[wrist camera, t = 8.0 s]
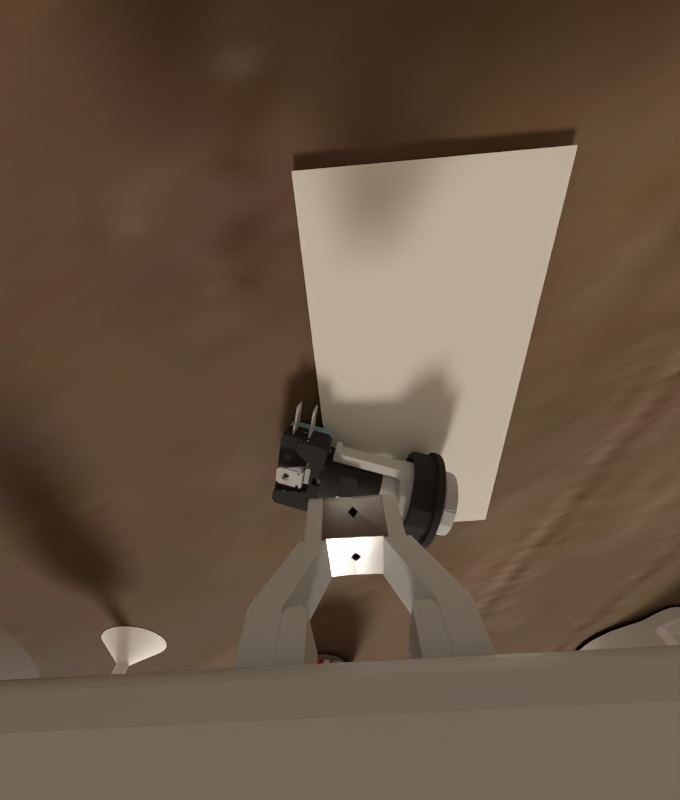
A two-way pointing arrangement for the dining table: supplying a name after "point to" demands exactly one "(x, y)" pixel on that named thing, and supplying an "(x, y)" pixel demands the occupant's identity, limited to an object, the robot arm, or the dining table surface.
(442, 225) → the white flat board
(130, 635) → the champagne flute
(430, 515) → the push button
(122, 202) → the dining table surface
